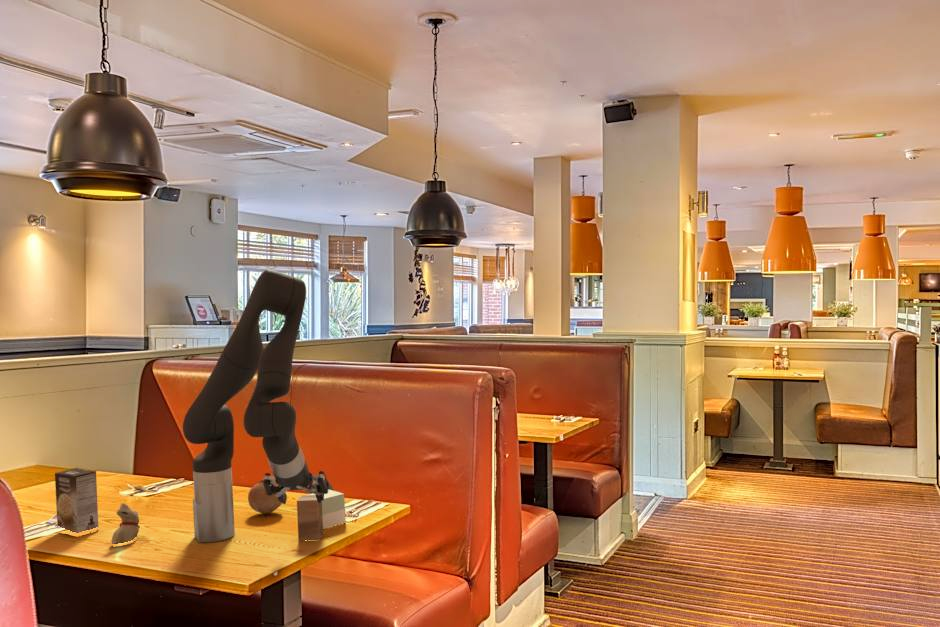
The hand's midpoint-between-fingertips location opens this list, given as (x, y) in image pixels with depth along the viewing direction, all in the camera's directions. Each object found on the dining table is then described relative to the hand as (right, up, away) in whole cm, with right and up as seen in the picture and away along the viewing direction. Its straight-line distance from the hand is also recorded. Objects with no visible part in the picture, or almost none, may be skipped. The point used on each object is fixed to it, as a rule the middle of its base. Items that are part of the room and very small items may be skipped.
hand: (302, 499), depth 187 cm
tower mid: (+2, -7, +18) cm, 20 cm away
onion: (-16, -11, +30) cm, 36 cm away
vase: (-2, -10, +34) cm, 36 cm away
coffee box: (-63, -13, +19) cm, 67 cm away
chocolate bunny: (-46, -13, +9) cm, 49 cm away
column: (+1, -11, +7) cm, 13 cm away
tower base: (+2, -11, +18) cm, 21 cm away
